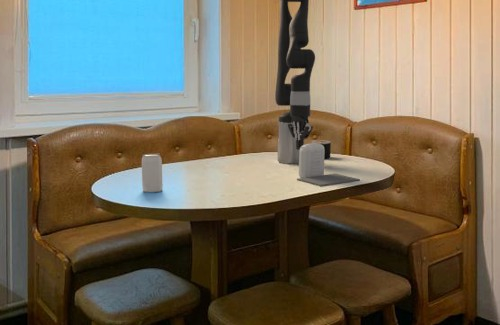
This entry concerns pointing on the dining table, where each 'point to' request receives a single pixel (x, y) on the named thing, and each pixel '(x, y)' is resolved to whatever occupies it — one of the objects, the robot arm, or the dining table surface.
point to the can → (152, 172)
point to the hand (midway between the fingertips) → (299, 149)
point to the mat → (328, 179)
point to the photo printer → (311, 160)
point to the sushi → (325, 147)
